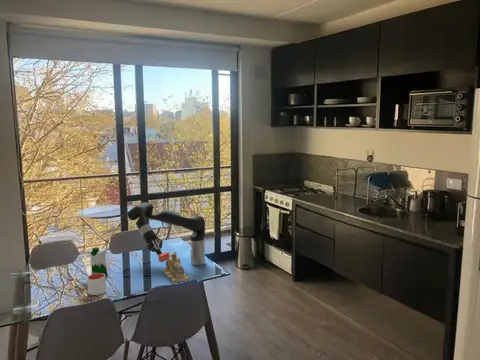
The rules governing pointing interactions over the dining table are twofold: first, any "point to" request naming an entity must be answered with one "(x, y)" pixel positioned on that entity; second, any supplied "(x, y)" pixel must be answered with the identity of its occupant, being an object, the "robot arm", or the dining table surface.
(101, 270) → the milk carton
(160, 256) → the lever
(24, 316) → the dining table surface
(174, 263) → the valve
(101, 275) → the cup
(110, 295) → the dining table surface
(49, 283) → the dining table surface
